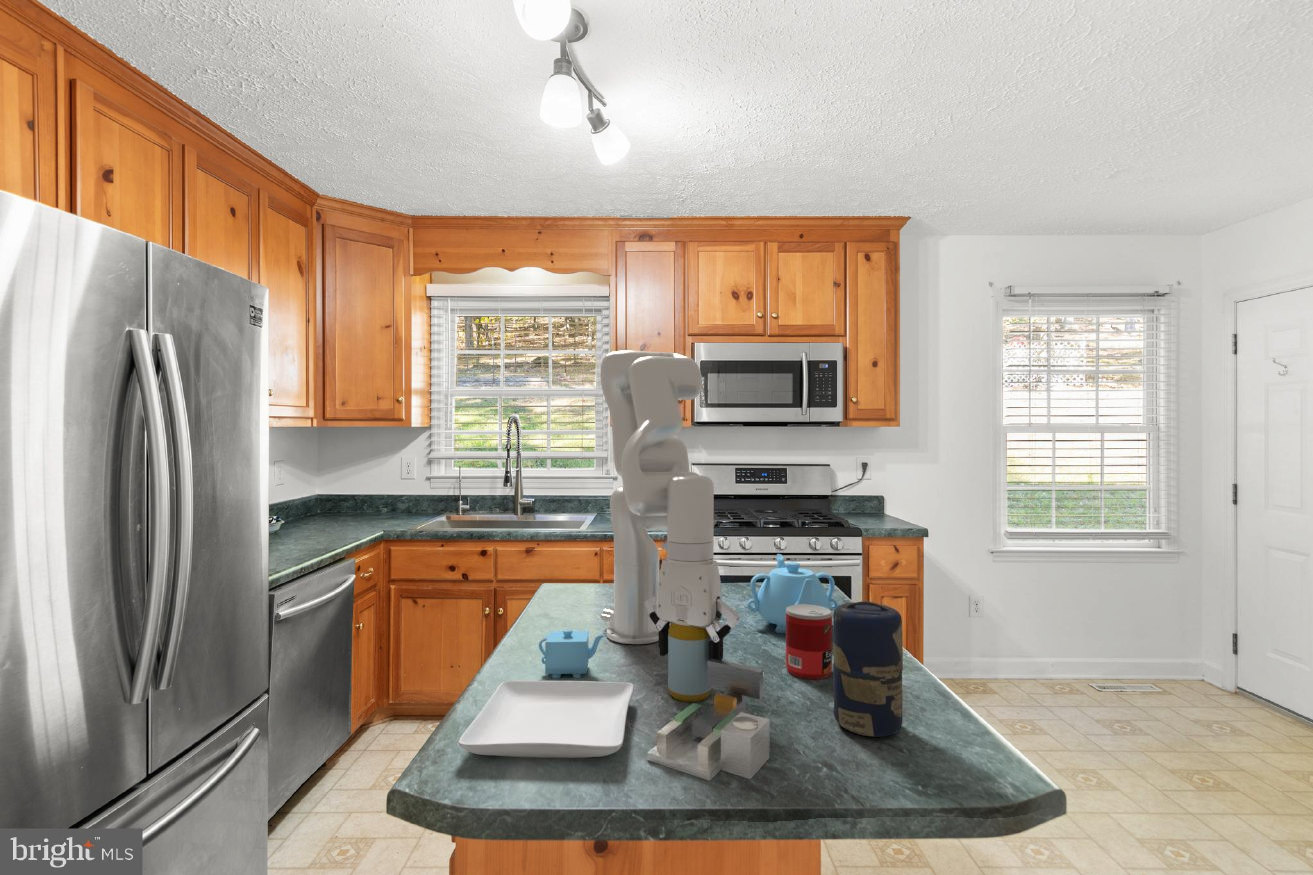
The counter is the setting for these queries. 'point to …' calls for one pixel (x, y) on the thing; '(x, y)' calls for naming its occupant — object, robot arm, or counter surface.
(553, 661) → the teapot
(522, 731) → the salad plate
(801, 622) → the canned food
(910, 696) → the counter surface
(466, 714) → the counter surface
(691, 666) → the bottle
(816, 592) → the teapot
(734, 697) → the grey t-shaped piece
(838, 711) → the canister
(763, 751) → the gauge body
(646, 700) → the counter surface
